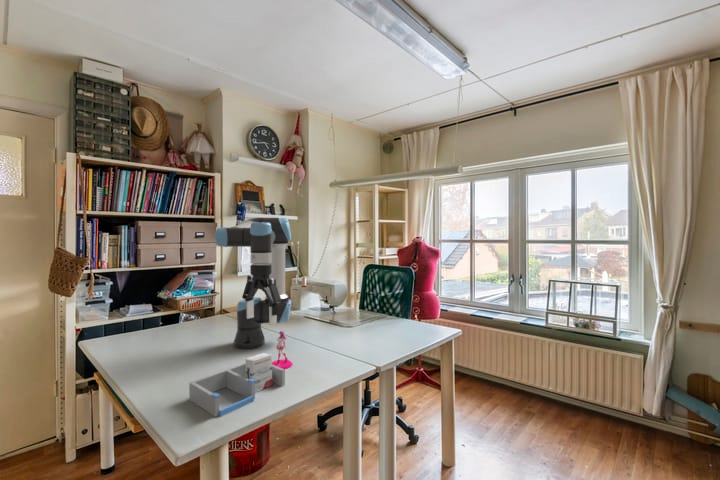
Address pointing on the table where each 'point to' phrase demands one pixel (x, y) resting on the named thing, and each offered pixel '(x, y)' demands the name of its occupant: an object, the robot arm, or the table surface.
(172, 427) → the table surface
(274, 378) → the divided organizer tray
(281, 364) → the figurine
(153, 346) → the table surface
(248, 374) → the ink box
